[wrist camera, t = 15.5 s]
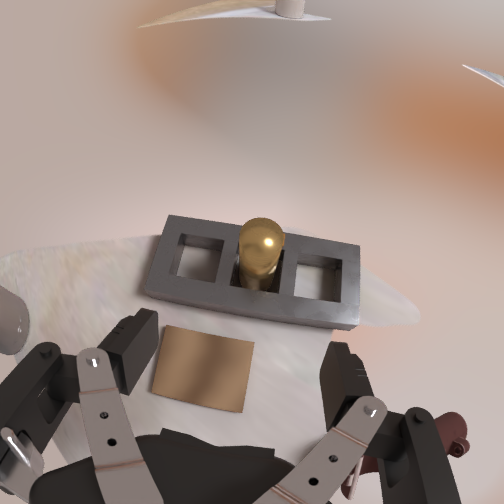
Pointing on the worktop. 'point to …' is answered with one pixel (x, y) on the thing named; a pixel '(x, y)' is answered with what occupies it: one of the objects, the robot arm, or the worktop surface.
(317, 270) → the worktop surface
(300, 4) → the toilet tissue
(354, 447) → the robot arm
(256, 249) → the gold domed cylinder
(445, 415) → the bracket
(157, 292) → the grey flat frame
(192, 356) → the tan rectangular plate
